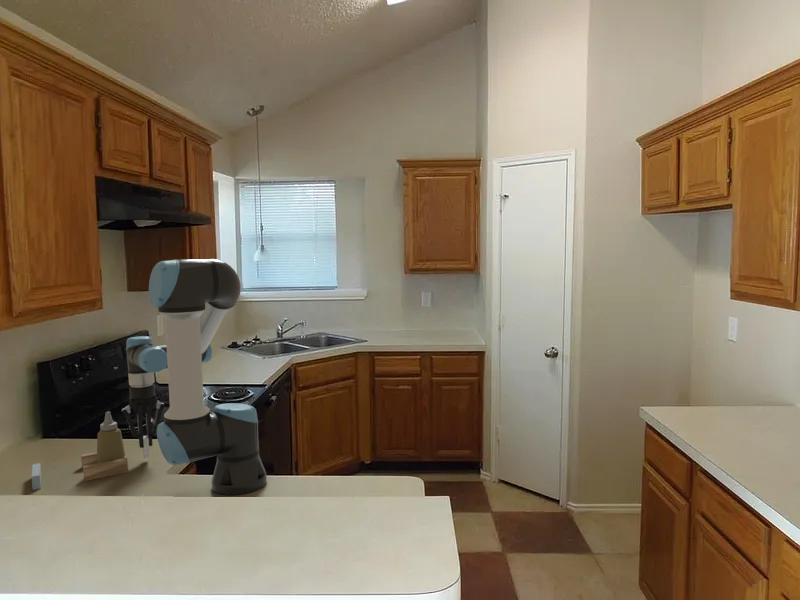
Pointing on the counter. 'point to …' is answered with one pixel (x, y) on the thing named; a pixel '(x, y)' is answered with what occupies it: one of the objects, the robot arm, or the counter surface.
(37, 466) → the bar
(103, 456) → the squeeze bottle
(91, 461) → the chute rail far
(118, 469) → the bar
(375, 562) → the counter surface
